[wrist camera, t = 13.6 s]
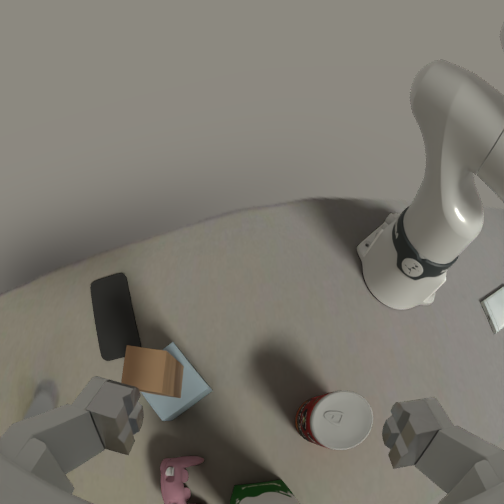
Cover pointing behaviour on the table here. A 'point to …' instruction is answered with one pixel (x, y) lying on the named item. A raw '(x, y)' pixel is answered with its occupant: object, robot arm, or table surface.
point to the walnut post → (152, 371)
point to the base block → (190, 393)
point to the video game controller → (176, 478)
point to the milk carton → (263, 493)
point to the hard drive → (495, 310)
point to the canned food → (335, 420)
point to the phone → (114, 316)
